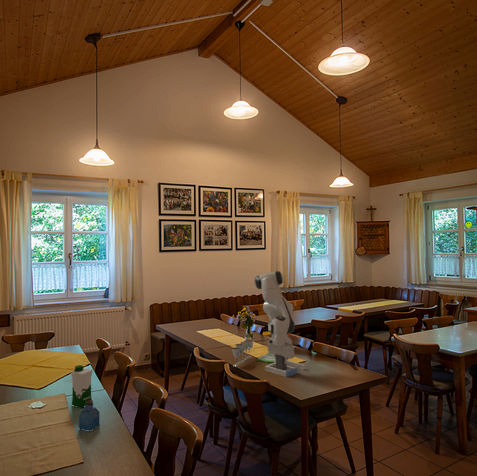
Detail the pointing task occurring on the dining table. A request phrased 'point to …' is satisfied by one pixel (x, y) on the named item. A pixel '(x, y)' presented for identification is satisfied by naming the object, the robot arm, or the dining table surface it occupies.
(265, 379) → the dining table surface
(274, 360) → the dish towel
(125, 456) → the dining table surface
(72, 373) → the milk carton
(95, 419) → the perfume bottle
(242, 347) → the goblet set
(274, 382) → the dining table surface
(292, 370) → the white tray
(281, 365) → the cord plug
